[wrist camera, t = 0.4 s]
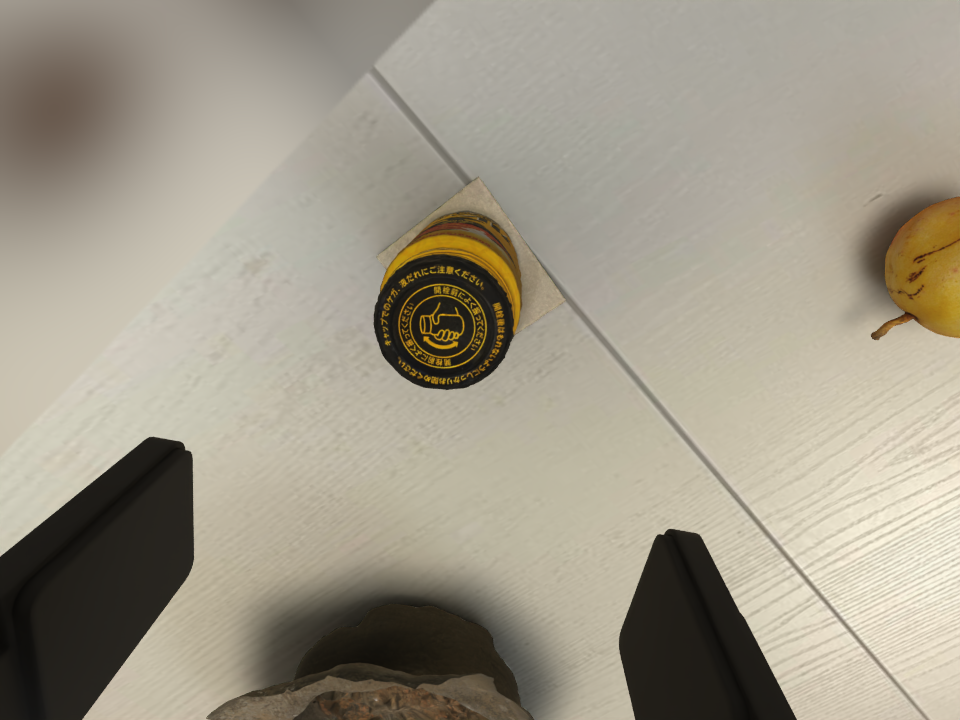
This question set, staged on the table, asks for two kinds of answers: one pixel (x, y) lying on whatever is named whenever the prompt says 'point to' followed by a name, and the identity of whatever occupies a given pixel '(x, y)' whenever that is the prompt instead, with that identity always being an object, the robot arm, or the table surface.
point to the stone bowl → (392, 674)
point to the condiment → (458, 293)
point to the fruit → (926, 270)
